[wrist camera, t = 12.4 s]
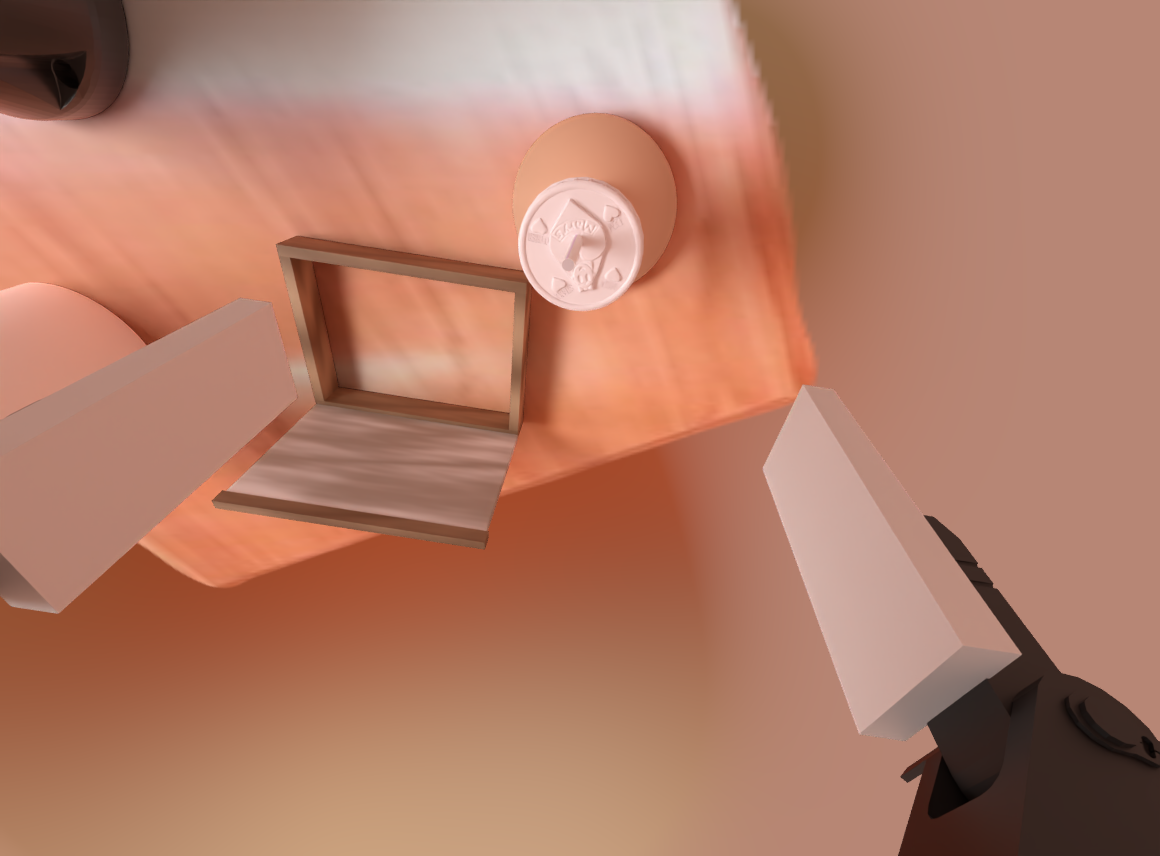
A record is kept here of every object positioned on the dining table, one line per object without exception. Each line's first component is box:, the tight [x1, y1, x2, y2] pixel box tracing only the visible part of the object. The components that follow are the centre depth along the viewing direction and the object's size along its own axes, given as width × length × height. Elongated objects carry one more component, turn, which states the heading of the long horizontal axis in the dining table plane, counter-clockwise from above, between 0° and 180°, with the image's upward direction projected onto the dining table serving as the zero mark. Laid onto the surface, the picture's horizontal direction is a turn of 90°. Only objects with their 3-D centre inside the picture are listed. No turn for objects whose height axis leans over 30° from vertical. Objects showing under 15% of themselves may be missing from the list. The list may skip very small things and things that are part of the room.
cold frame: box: [212, 236, 532, 549], centre depth 33 cm, size 16×18×15 cm
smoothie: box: [518, 177, 644, 311], centre depth 25 cm, size 6×6×14 cm
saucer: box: [512, 113, 677, 283], centre depth 31 cm, size 11×11×1 cm
